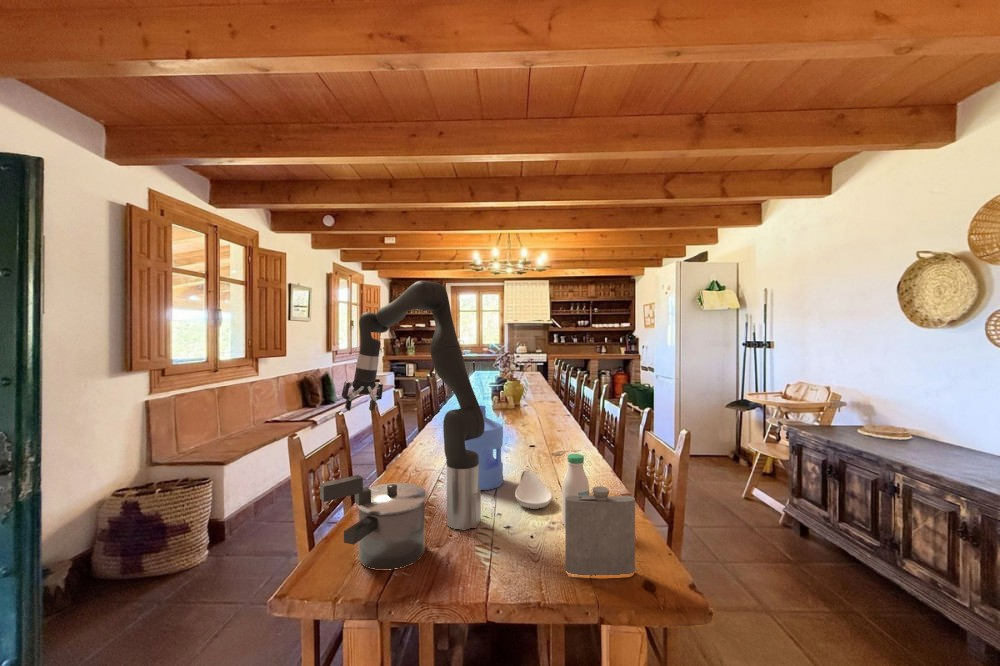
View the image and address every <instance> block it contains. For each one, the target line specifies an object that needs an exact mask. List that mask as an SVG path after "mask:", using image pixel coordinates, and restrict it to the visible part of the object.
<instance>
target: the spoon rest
mask: <svg viewBox="0 0 1000 666" xmlns="http://www.w3.org/2000/svg"><path fill="white" fill-rule="evenodd" d="M514 496H515V498H516V501H517V502H518V503H519V504H520V505H521V506H522V507H524V508H526V509H529V508H530V510H538V509H539V508H540V509H542V508H545V507H546V506H548V505H549V504H550V503H551V501H552V500H553V494H552V492H551V490H550V489H549V487H547V486H546V484H545V483H544V482H543V481H542V480H541V479H540V478H539V476H538V475H537V474H536V472H535V471H534V470H529V471H528V470H527V471H526V470H523V471H522V473H521V476H520V481H519V483H518V485H517V487H516V489H515V492H514Z"/></svg>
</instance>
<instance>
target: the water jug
mask: <svg viewBox="0 0 1000 666" xmlns="http://www.w3.org/2000/svg"><path fill="white" fill-rule="evenodd" d="M479 406H480V409H481V411H482V414H483V418H484V423H485V428H484V433H483V434H482V436H480V437H478V438H475V439H471V440H467V441H465V448H466V450H471V451H474V452H476V453H477V454H478V456H479V488H481V490H484V491H489V490H490V489H491V490H494V488H495V489H497V488H499V487H501V486H502V485H503V483H504V469H503V468H504V466H503V465H504V464H503V462H502V446H503V445H504V444H503V443H504V442H503V439H504V431H503V429H504V428H503V425H502V424H501V423H500V422H498V421H497V422H496V421H494V420H493V419H490V418H488V417H487V414H486V412H487V410H486V408H487V406H486V405H479ZM494 450H495V452H496V453H495V454H496V455H495V457H494ZM491 490H490V491H491Z"/></svg>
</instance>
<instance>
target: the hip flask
mask: <svg viewBox="0 0 1000 666" xmlns="http://www.w3.org/2000/svg"><path fill="white" fill-rule="evenodd" d="M592 493H593V494H591V495H590V494H589V495H586V496H567V497H566V498H565V527H564V530H565V535H564V536H565V539H564V540H565V543H564V544H565V545H564V546H565V549H564V550H565V552H564V554H565V556H564V557H565V558H564V559H565V560H564V561H565V566H564V567H565V570H566V571H567V572H568V573H571V574H578V575H590V576H592V575H595V576H596V575H620V574H630V573H633V572H635V573H636V498H635V496H631V495H616V496H609V494H610V489H609V488H608V487H605V486H594V487H593V488H592Z"/></svg>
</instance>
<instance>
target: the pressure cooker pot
mask: <svg viewBox="0 0 1000 666" xmlns="http://www.w3.org/2000/svg"><path fill="white" fill-rule="evenodd" d="M425 509H426V508H425V502H424V503H423V504H422V505H421V506H419V507H418V508H416V509H413V510H411V511H408V512H404V513H399V514H393V515H374V514H369V513H365V512H363V511H361V510H360V509H359V508H358V522H355V524H352V525H351V526H349V527H348V528H346V529H345V530H344V531H343V543H344V544H350V545H353V546H354V545H356V544H357V543H358V558H359V559H360V561H361V563H362V564H364V565H365V566H367V567H370V568H375V569H394V568H400V567H404V566H406V565H409V564H411V563H414V562H415V561H417V560H418V559H419V558H420V557H421V556H422V555H423V553H424V554H425V552H426V545H425V543H426V541H425V539H426V538H425V537H426V535H425V534H426V533H425V530H426V528H425V525H426V522H425V521H426V519H425V514H426V513H425ZM424 551H425V552H424ZM423 556H424V555H423ZM423 556H422V557H423ZM359 559H358V560H359ZM360 561H359V562H360ZM417 562H418V561H417ZM361 563H360V564H361ZM362 564H361V565H362ZM414 564H415V563H414Z"/></svg>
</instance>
